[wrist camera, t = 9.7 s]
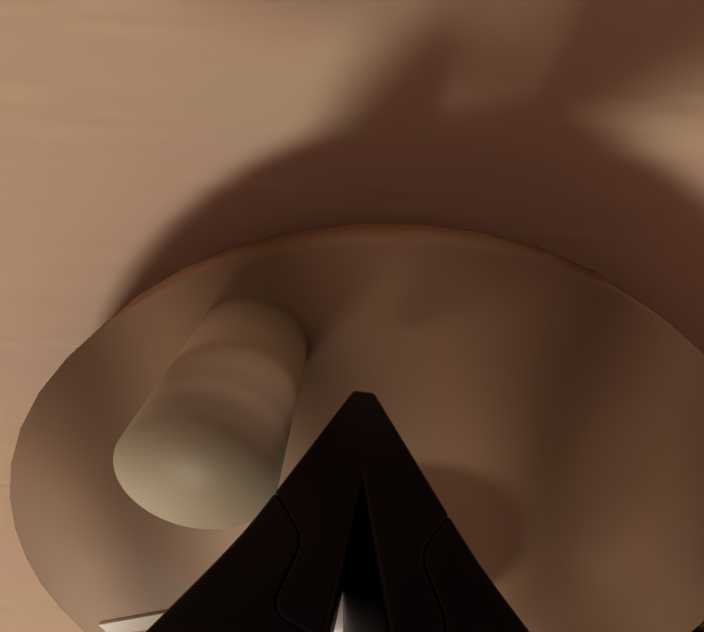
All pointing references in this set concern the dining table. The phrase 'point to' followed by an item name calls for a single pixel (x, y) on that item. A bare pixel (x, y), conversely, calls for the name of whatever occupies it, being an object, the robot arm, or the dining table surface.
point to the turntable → (401, 407)
